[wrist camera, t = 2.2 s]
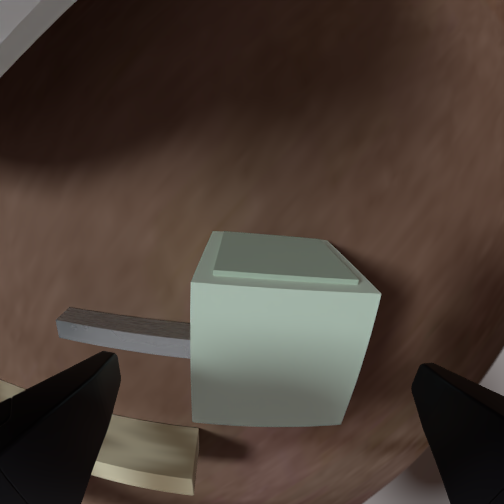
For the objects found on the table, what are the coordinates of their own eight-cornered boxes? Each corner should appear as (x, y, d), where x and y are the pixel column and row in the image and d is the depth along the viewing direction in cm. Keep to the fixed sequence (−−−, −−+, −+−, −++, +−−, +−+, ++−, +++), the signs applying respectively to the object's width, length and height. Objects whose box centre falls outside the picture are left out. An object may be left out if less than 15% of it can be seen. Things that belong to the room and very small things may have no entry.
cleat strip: (71, 323, 14) (59, 337, 13) (69, 307, 14) (55, 320, 13) (197, 341, 15) (193, 358, 13) (198, 323, 14) (193, 340, 13)
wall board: (3, 397, 16) (-20, 427, 12) (-5, 377, 16) (-31, 407, 12) (199, 446, 17) (193, 495, 13) (198, 428, 17) (191, 479, 13)
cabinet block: (208, 332, 15) (192, 422, 9) (213, 227, 13) (191, 276, 8) (309, 338, 15) (340, 424, 9) (327, 236, 14) (382, 288, 8)
